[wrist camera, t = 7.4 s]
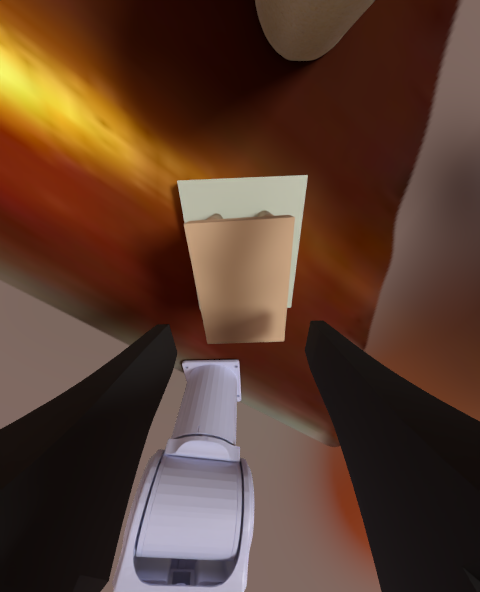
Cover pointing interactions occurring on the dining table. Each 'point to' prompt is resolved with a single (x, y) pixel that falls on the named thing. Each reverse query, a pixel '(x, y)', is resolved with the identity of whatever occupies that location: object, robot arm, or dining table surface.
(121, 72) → the dining table surface
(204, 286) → the stool
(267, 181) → the board
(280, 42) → the flower pot
